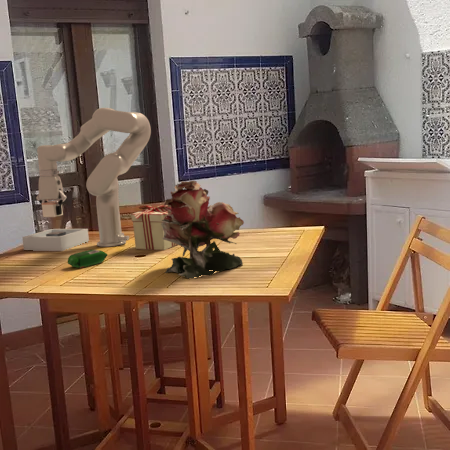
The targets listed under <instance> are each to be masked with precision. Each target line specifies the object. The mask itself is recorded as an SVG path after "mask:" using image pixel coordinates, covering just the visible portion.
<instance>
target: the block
mask: <svg viewBox="0 0 450 450" xmlns="http://www.w3.org/2000/svg"><path fill="white" fill-rule="evenodd" d="M63 235H66V232H52V233H48V234H46V237H60V236H63Z"/></svg>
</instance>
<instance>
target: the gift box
mask: <svg viewBox="0 0 450 450" xmlns="http://www.w3.org/2000/svg"><path fill="white" fill-rule="evenodd" d="M165 208H168V206H167V205H165V206H164V205H162V204H161V205H158V206H156V207H154V206H152V205H141V206H139V207H138V209H140V210H139V211H137V212H134V213H131V214H130V215H131V222H132V227H133V234H134V245H135V250H144V251H145V250H147V251H167V250H168V249H171V248H173V247H176V246H179V245H178V244H175V243H173V242H170V241H167V240H164V239H162V238H163V237H164V231H163V227H162V225H161V224H162V222H163V221H162V220H164V218H165V217H166V216H167V215H168V212H167V210H166V209H165Z"/></svg>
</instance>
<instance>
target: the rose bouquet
mask: <svg viewBox="0 0 450 450" xmlns="http://www.w3.org/2000/svg"><path fill="white" fill-rule="evenodd" d="M174 189H175V190H174V191H172V190H171V191H170V196H171V198H167V199H166V200H164V204H163V206H165V205H167V206H168V208H165V209H166V210H167V212H168V215H167V216H166V217H165V218H164V220H162V221H163V222H162V224H161V225H162V227H163V231H164V237H163V238H162V239H164V240H167V241H170V242H173V243H175V244H178V245H177V246H180V247H182V248H183V251H182V256H180V255H179V256H177V257H174V258H171V260H172V263H171V266H170V267H168V268H166V270H165V271H166V272H165V271H164V273H170V272H171V273H172V272H174V273H177V275H178V276H181V277H184V278H187V279H188V280H190V279H189V278H194V277H199V276H201V275H209V276H213V275H214V274H213V273H214V272H215V271H220V272H223V271H225V270H230V269H234V268H236V267H238V266H240V265H243V263H244V262H243V259H242V258H241V257H240V256H238V255H235V253H232V254H231V253H229V252H225V251H222V250H221V249H220V248H219V246H218V245H217V243H216V241H215V240H220V241H222V242H225V243H228V244H231V243H232V244H235V245H237V243H236V242H233V241H230V240H229V239H233V240H236V239H237V238H238V237H240V232H239V230H240V227H241V226H244V224H245V222H244V220H243V219H241V217H237V215H239V212H237V211H234V208H233V207H232V206H231V205H230V204H229V203H225V202H223V201H222V202H221V201H217V202H216V203H213V204H211V205H209V204H210V200H211V196H209V195H206V192H204V191H203V190H204V189H203V188H202V186H201V184H199V182H198V181H196V180H190V181H183V180H182V181H180V183H177V184H175V186H174ZM212 240H213V242H212ZM205 245H206V246H205ZM202 246H203V247H204V246H205V247H204V248H203V249H202V250H201V251H199V247H202ZM187 251H189V257H186V256H185V254H186V252H187ZM209 270H213V271H209ZM212 274H213V275H212Z"/></svg>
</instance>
